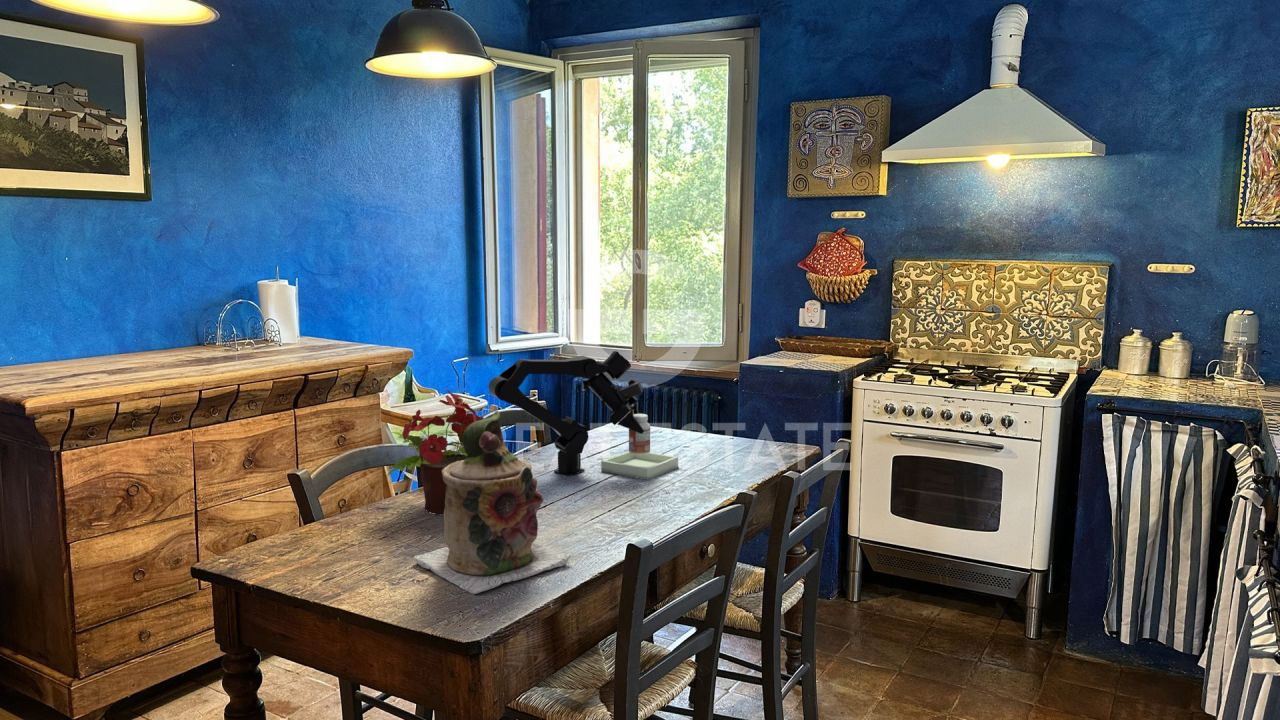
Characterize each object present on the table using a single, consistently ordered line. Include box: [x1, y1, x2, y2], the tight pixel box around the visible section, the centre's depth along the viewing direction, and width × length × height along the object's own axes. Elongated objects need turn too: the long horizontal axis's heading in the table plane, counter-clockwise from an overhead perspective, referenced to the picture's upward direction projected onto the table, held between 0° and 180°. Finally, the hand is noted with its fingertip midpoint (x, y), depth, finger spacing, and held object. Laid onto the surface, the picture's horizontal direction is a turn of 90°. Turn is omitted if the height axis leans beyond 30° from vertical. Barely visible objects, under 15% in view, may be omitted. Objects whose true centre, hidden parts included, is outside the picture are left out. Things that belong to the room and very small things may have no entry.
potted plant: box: [386, 388, 485, 515], centre depth 224 cm, size 30×27×30 cm
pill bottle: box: [628, 413, 651, 455], centre depth 256 cm, size 6×6×11 cm
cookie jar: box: [413, 410, 572, 595], centre depth 183 cm, size 25×25×32 cm
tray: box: [600, 450, 679, 481], centre depth 258 cm, size 16×16×3 cm
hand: (644, 430), depth 256 cm, fingers closed on pill bottle, 6 cm apart
